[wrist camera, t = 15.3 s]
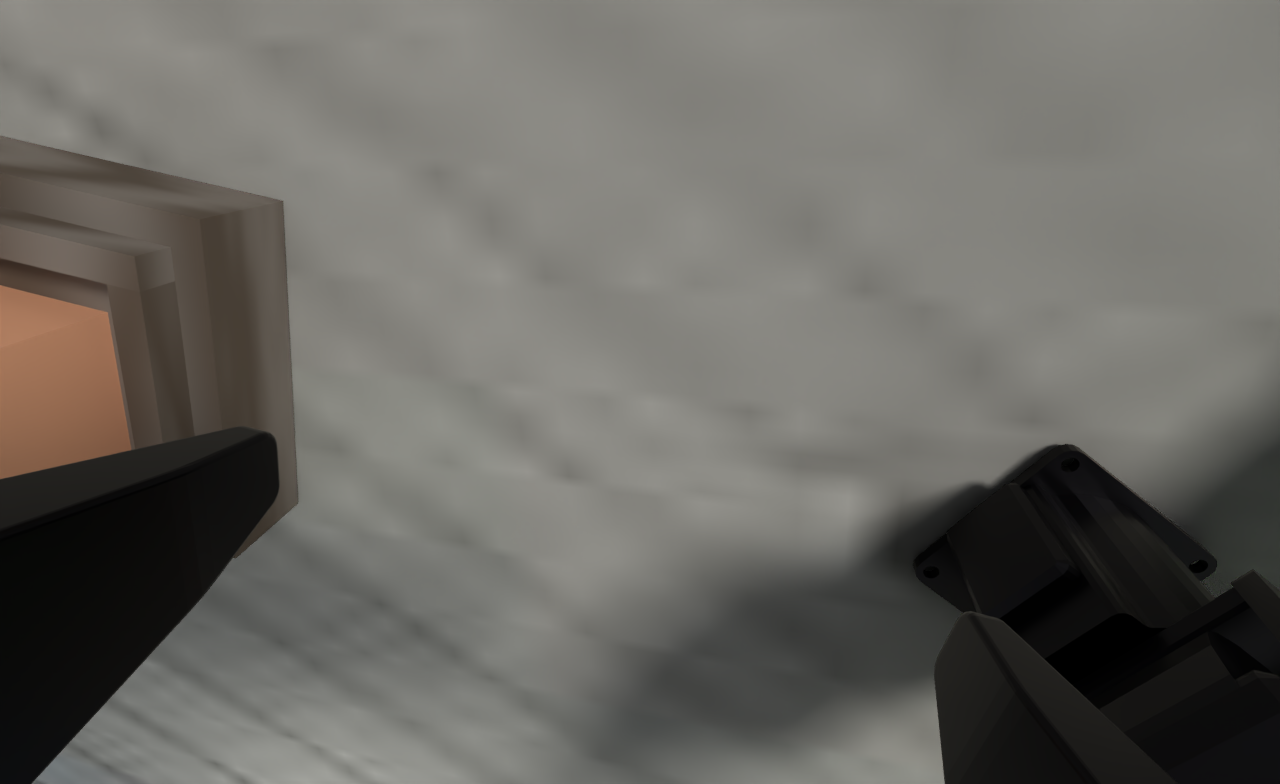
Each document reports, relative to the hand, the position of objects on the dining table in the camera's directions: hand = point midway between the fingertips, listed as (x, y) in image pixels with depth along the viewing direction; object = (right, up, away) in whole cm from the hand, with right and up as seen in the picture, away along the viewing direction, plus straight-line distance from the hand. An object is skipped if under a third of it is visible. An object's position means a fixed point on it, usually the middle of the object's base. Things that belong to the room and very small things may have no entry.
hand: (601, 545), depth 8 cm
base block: (-18, +4, +16) cm, 24 cm away
